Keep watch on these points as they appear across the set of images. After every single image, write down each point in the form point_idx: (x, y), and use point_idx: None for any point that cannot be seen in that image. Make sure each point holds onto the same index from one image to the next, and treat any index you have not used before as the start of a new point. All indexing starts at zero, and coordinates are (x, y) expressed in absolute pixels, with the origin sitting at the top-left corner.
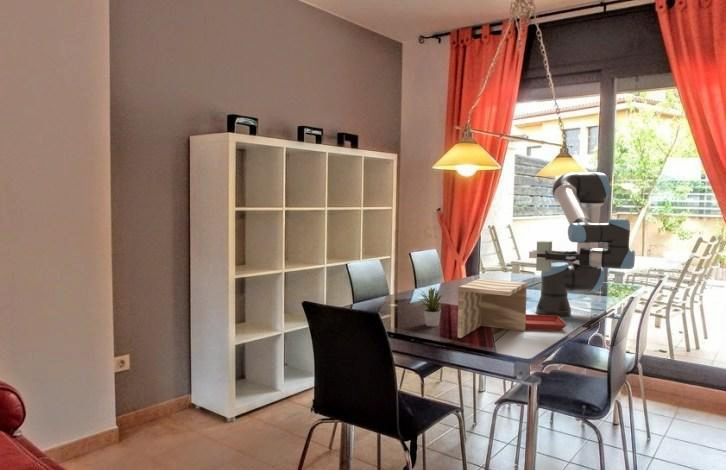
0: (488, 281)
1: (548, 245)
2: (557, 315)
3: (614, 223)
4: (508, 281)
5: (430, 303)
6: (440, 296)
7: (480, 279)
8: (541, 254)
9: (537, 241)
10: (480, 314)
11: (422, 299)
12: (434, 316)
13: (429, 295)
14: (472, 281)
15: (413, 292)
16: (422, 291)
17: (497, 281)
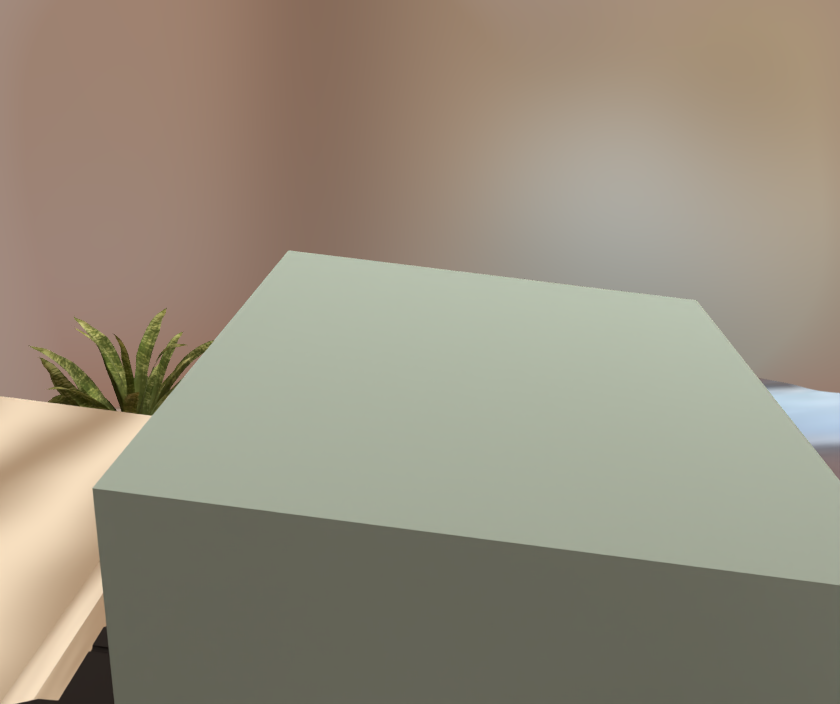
0: (14, 472)
1: (130, 612)
2: None
3: None
4: (22, 610)
5: (112, 407)
6: (84, 395)
7: (141, 428)
8: (76, 680)
9: (340, 258)
10: None
11: (48, 362)
12: None
13: (63, 360)
14: (10, 399)
15: (770, 389)
16: (153, 333)
17: (17, 526)
